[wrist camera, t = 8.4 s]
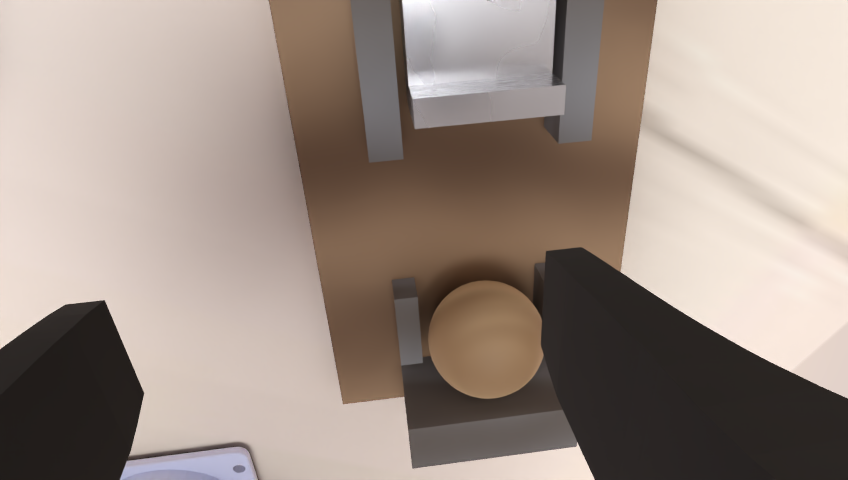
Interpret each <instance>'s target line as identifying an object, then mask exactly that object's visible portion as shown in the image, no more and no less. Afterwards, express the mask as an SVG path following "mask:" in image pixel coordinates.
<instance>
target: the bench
mask: <svg viewBox="0 0 848 480" xmlns="http://www.w3.org/2000/svg"><path fill="white" fill-rule="evenodd" d="M269 3H270V9H271V14H272V20H273V25H274V31H275V36H276V42H277V47H278V52H279V58H280V63H281V69H282V74H283V80H284V85H285V91H286V96H287V101H288V107H289V112H290V118H291V123H292V129H293V134H294V139H295V145H296V150H297V156H298V161H299V167H300V172H301V178H302V183H303V188H304V194H305V199H306V205H307V210H308V216H309V221H310V226H311V232H312V237H313V243H314V248H315V254H316V259H317V265H318V270H319V275H320V281H321V286H322V292H323V297H324V303H325V308H326V314H327V319H328V324H329V330H330V335H331V341H332V346H333V352H334V357H335V362H336V368H337V373H338V379H339V384H340V390H341V395H342V401H343V404H349V403H357V402H365V401H372V400H380V399H388V398H396V397H405V406H406V415H407V423H408V432H409V441H410V450H411V459H412V468H420V467H427V466H435V465H442V464H450V463H457V462H465V461H472V460H480V459H487V458H494V457H502V456H509V455H517V454H524V453H532V452H539V451H546V450H554V449H561V448H569V447H576V446H577V440H576V438H575V436H574V433H573V431H572V429H571V427H570V425H569V422H568V420H567V418H566V416H565V414H564V412H563V409H562V407H561V405H560V403H559V400H558V398H557V396H556V393H555V390H554V386H553V383H552V380H551V377H550V374H549V371H548V368H547V364H546V361H545V358H544V355H543V359H542V362H541V364H540V366H539V368H538V370H537V372H536V373H535V375H534V376H533V377H532V379H531V380H530V381H529V382H528V383H527V384H526V385H525V386H523V387H522V388H521V389H519V390H517V391H516V392H514V393H512V394H509V395H507V396H503V397H499V398H491V399H484V398H477V397H473V396H469V395H466V394H464V393H462V392H460V391H458V390H456V389H455V388H454V387H452V386H451V385H450V384H449V383H448V382H446V381H445V380H444V378H443V377H442V376H441V375H440V373H439V372H438V370H437V369H436V367H435V365H434V363H433V361H432V358H431V354H430V351H429V343H428V333H429V327H430V322H431V320H432V317H433V314H434V312H435V310H436V308H437V307H438V305H439V304H440V303H441V301H442V300H443V299H444V298H445V297H446V296H447V295H448V294H449V293H451V292H452V291H453V290H455V289H456V288H458V287H460V286H462V285H464V284H467V283H470V282H475V281H483V280H487V281H497V282H501V283H505V284H507V285H510V286H512V287H514V288H516V289H517V290H519V291H520V292H522V293H523V294H524V295H525V296H526V297H527V298H528V299H529V300H530V301H531V302H532V303H533V305H534V306H535V308H536V309H537V311H538V313H539V314H540V317H541V319H542V311H543V293H544V275H545V257H546V251H550V250H559V249H568V248H577V247H582V248H584V249H586V250H587V251H589V252H591V253H592V254H594V255H595V256H597V257H598V258H600V259H601V260H603V261H605V262H606V263H607V264H609V265H610V266H612V267H613V268H615V269H616V270H618V271H619V272H620V270H621V263H622V256H623V248H624V241H625V234H626V226H627V219H628V212H629V204H630V197H631V190H632V182H633V175H634V168H635V160H636V153H637V146H638V138H639V131H640V124H641V116H642V109H643V102H644V94H645V87H646V80H647V72H648V65H649V58H650V50H651V43H652V36H653V28H654V21H655V14H656V6H657V0H556V12H555V31H554V50H553V69H552V73H553V74H554V75H555V76H557V77H558V78H559V79H560V80H561V81H562V82H563V83H565V84H566V95H565V110H564V115H556V116H546V117H535V118H525V119H515V120H504V121H494V122H483V123H473V124H463V125H452V126H442V127H432V128H421V129H415V128H414V125H413V121H412V118H411V114H410V111H409V107H408V103H407V96H406V83H405V70H404V57H403V44H402V31H401V18H400V5H399V0H269Z"/></svg>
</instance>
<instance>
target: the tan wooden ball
mask: <svg viewBox="0 0 848 480" xmlns="http://www.w3.org/2000/svg"><path fill="white" fill-rule="evenodd" d="M541 329H542V319H541V317H540V314H539V313H538V311H537V309H536V308H535V306H534V305H533V303H532V302H531V301H530V300H529V299H528V298H527V297H526V296H525V295H524V294H523V293H522V292H520V291H519V290H517V289H516V288H514V287H512V286H510V285H507V284H505V283H501V282H497V281H487V280H483V281H475V282H470V283H467V284H464V285H462V286H460V287H458V288H456V289H455V290H453V291H452V292H451V293H449V294H448V295H447V296H446V297H445V298H444V299H443V300H442V301H441V303H440V304H439V305H438V307H437V308H436V310H435V312H434V314H433V317H432V320H431V322H430V327H429V333H428V343H429V351H430V354H431V358H432V361H433V363H434V365H435V367H436V369H437V370H438V372H439V373H440V375H441V376H442V377H443V378H444V380H445V381H446V382H448V383H449V384H450V385H451V386H452V387H454V388H455V389H456V390H458V391H460V392H462V393H464V394H466V395H469V396H473V397H477V398H484V399H491V398H499V397H503V396H507V395H509V394H512V393H514V392H516V391H517V390H519V389H521V388H522V387H523V386H525V385H526V384H527V383H528V382H529V381H530V380H531V379H532V377H533V376H534V375H535V373H536V372H537V370H538V368H539V366H540V364H541V362H542V359H543V355H544V354H543V351H542V348H541Z"/></svg>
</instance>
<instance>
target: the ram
mask: <svg viewBox="0 0 848 480" xmlns="http://www.w3.org/2000/svg"><path fill="white" fill-rule="evenodd" d="M399 5H400V18H401V31H402V44H403V57H404V70H405V83H406V96H407V103H408V107H409V111H410V114H411V118H412V121H413V125H414V128H415V129H421V128H432V127H442V126H452V125H463V124H473V123H483V122H494V121H504V120H515V119H525V118H535V117H546V116H556V115H564V110H565V95H566V84H565V83H563V82H562V81H561V80H560V79H559V78H558V77H557V76H555V75H554V74H553V73H552V69H553V50H554V31H555V12H556V0H399Z"/></svg>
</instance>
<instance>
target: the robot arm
mask: <svg viewBox="0 0 848 480" xmlns="http://www.w3.org/2000/svg"><path fill="white" fill-rule="evenodd" d="M541 348H542V351H543V354H544V358H545V361H546V364H547V368H548V371H549V374H550V377H551V380H552V383H553V386H554V390H555V393H556V396H557V398H558V400H559V403H560V405H561V407H562V409H563V412H564V414H565V416H566V418H567V420H568V422H569V425H570V427H571V429H572V431H573V433H574V436H575V438H576V440H577V442H578V444H579V446H580V449H581V451H582V453H583V455H584V457H585V459H586V461H587V464H588V466H589V468H590V470H591V472H592V474H593V477H594V479H595V480H848V399H847V398H845V397H843V396H841V395H838V394H836V393H834V392H832V391H829V390H827V389H825V388H823V387H820V386H818V385H816V384H814V383H812V382H810V381H808V380H806V379H804V378H802V377H800V376H798V375H796V374H794V373H791V372H789V371H787V370H785V369H783V368H781V367H779V366H777V365H775V364H773V363H771V362H769V361H767V360H765V359H763V358H761V357H759V356H757V355H755V354H754V353H752V352H750V351H748V350H746V349H744V348H742V347H741V346H739V345H737V344H735V343H734V342H732V341H730V340H728V339H726V338H725V337H723V336H721V335H719V334H718V333H716V332H714V331H712V330H711V329H709V328H707V327H705V326H704V325H702V324H700V323H699V322H697V321H695V320H694V319H692V318H690V317H689V316H687V315H686V314H684V313H682V312H681V311H679V310H677V309H676V308H674V307H673V306H671V305H670V304H668V303H666V302H665V301H663V300H662V299H660V298H659V297H657V296H656V295H654V294H652V293H651V292H649V291H648V290H646V289H645V288H643V287H642V286H640V285H639V284H637V283H636V282H634V281H633V280H631V279H630V278H628V277H627V276H625V275H624V274H622V273H621V272H619V271H618V270H616V269H615V268H613V267H612V266H610V265H609V264H607V263H606V262H605V261H603V260H601V259H600V258H598V257H597V256H595V255H594V254H592V253H591V252H589V251H587V250H586V249H584V248H582V247H577V248H568V249H559V250H550V251H546V257H545V275H544V293H543V311H542V329H541ZM143 396H144V392H143V390H142V387H141V385H140V383H139V380H138V378H137V376H136V373H135V371H134V368H133V366H132V364H131V361H130V359H129V357H128V354H127V352H126V350H125V347H124V345H123V343H122V340H121V338H120V336H119V333H118V331H117V328H116V326H115V324H114V321H113V319H112V317H111V314H110V312H109V310H108V307H107V305H106V303H105V300H103V301H94V302H85V303H76V304H67V305H64V306H63V307H61V308H59V309H58V310H56V311H54V312H53V313H51V314H49V315H48V316H46V317H45V318H43V319H42V320H41V321H39V322H38V323H36V324H35V325H33V326H32V327H30V328H29V329H28V330H26V331H25V332H23V333H22V334H21V335H19V336H18V337H16V338H15V339H14V340H12V341H11V342H10V343H8V344H7V345H5V346H4V347H3V348H1V349H0V480H258V479H257V475H256V472H255V469H254V466H253V463H252V460H251V457H250V454H249V452H248V450H246V449H245V448H242V447H230V448H223V449H215V450H207V451H199V452H192V453H184V454H176V455H169V456H161V457H153V458H145V459H138V460H130V461H127V459H128V457H129V454H130V451H131V447H132V443H133V439H134V435H135V432H136V428H137V423H138V419H139V414H140V410H141V405H142V400H143Z"/></svg>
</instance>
